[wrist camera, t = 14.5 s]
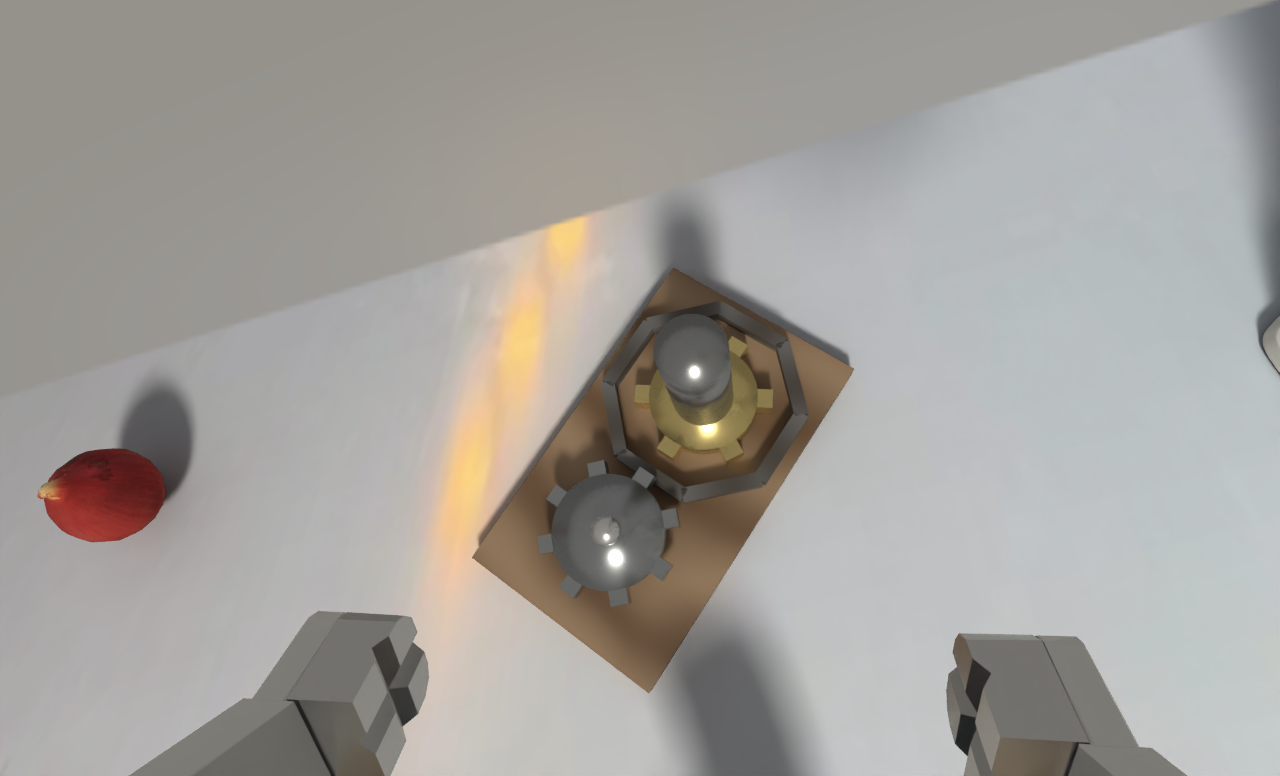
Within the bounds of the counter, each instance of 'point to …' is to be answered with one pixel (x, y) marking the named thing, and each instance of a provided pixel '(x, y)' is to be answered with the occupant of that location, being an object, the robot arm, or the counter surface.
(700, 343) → the gear
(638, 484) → the gear
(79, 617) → the counter surface
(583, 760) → the counter surface
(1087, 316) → the counter surface
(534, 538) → the gear board
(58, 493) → the onion
